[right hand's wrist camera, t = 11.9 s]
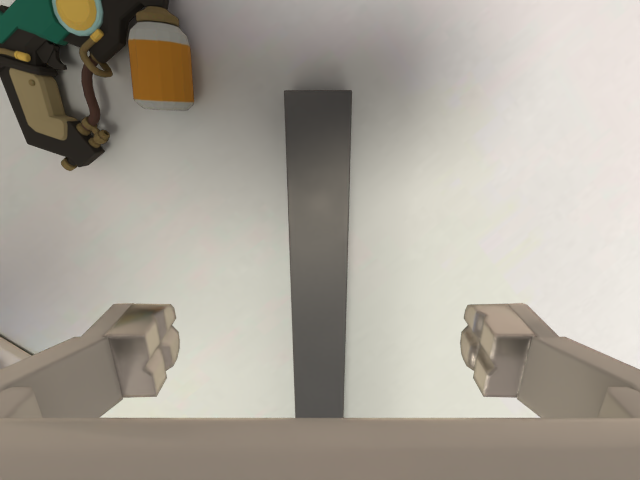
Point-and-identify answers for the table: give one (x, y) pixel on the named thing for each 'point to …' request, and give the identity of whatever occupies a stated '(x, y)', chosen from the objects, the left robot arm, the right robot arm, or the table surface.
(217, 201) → the table surface
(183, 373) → the table surface
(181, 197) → the table surface
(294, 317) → the bar
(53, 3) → the spray gun
